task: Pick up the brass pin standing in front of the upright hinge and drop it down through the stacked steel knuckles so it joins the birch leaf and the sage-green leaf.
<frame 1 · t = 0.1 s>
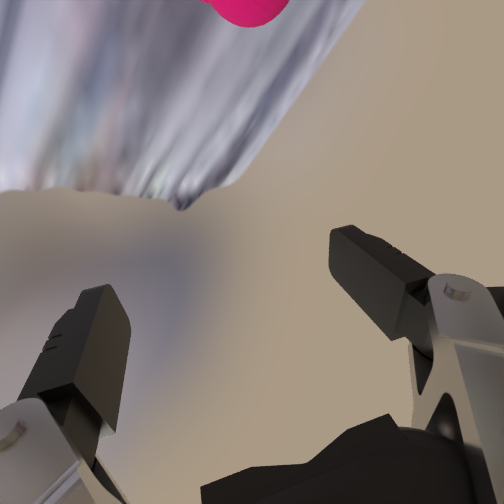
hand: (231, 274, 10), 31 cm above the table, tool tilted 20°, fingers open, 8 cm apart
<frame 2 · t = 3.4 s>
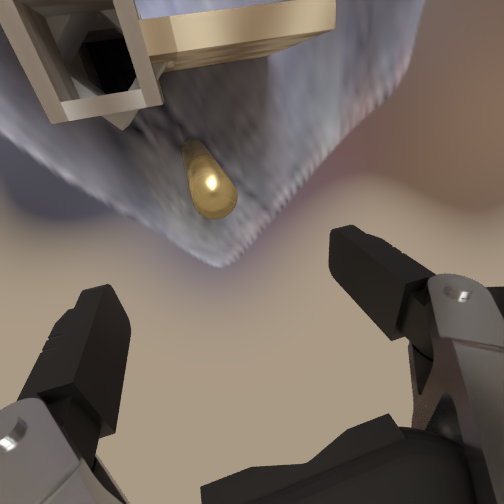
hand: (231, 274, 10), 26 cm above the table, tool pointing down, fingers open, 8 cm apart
brass pin: (194, 152, 32), on the table
fixed leaf: (120, 69, 26), on the table
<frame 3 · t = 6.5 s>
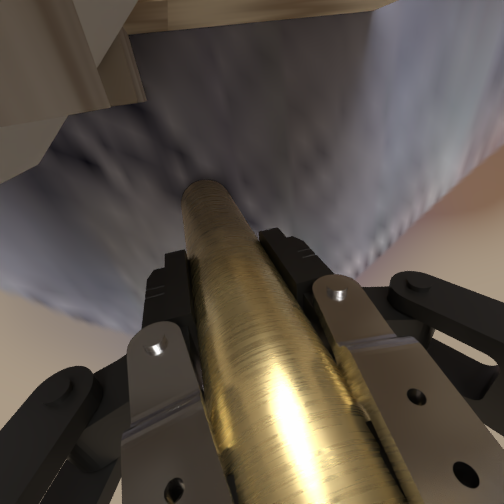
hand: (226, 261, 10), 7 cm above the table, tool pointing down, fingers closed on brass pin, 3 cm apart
brass pin: (206, 204, 16), on the table, touching gripper
fixed leaf: (33, 17, 10), on the table
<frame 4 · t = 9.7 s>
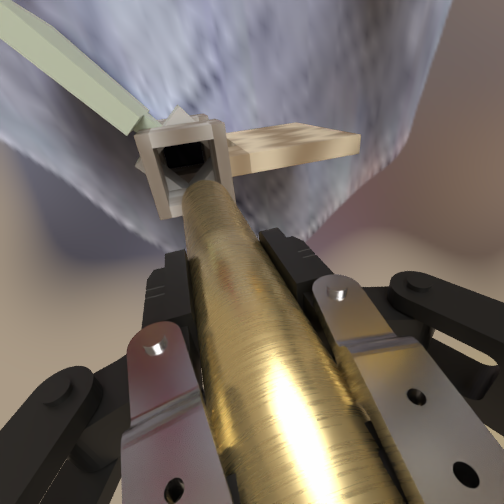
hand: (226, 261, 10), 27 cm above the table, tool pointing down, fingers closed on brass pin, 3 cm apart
brass pin: (206, 204, 16), point 20 cm above the table, touching gripper
swinging leaf: (132, 113, 24), point 7 cm above the table, hinge at 0.0°
fixed leaf: (182, 147, 33), on the table
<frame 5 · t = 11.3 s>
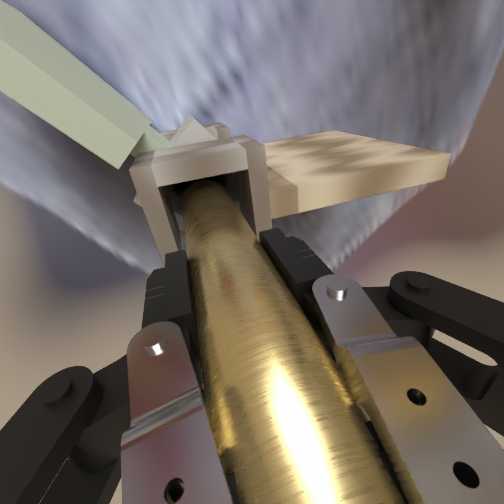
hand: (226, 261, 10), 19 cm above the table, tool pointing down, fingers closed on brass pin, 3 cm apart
brass pin: (206, 204, 16), point 12 cm above the table, touching gripper
swinging leaf: (128, 128, 17), point 7 cm above the table, hinge at 0.0°
fixed leaf: (193, 164, 26), on the table
when the fingers open (15 cm above the table, at t = 12.7 s): brass pin drops 8 cm, resting in fixed leaf.
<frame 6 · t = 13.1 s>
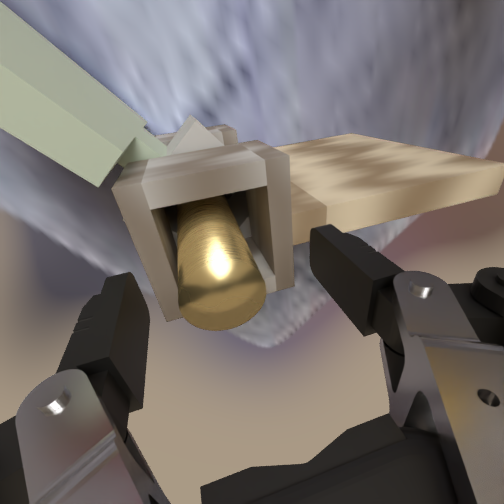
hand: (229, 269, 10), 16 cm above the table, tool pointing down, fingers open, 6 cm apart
brass pin: (194, 171, 23), resting in fixed leaf
swinging leaf: (116, 132, 14), point 7 cm above the table, hinge at 0.0°
fixed leaf: (194, 171, 23), on the table
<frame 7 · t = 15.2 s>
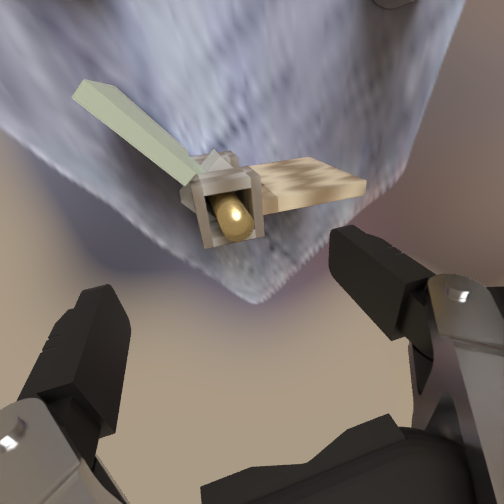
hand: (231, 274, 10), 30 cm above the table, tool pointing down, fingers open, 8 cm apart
brass pin: (211, 178, 38), resting in fixed leaf
swinging leaf: (179, 159, 29), point 7 cm above the table, hinge at 0.0°
fixed leaf: (211, 178, 38), on the table
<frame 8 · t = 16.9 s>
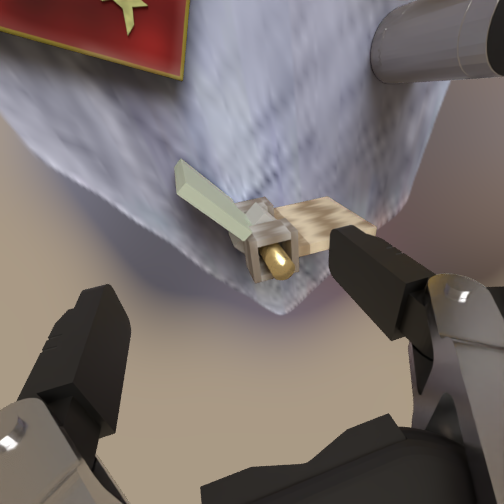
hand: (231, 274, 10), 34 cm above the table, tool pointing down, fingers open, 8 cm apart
brass pin: (248, 218, 47), resting in fixed leaf
swinging leaf: (232, 214, 38), point 7 cm above the table, hinge at 0.0°
fixed leaf: (249, 218, 47), on the table
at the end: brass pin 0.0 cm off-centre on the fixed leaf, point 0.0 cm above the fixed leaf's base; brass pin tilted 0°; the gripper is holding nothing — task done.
